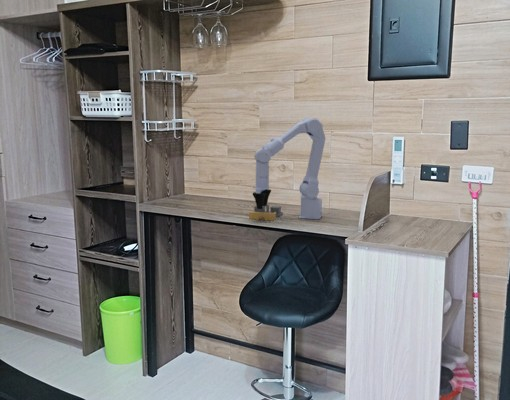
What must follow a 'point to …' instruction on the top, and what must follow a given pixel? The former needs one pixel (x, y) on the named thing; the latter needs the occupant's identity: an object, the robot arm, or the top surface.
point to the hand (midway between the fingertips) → (261, 207)
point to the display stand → (272, 210)
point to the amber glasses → (262, 215)
